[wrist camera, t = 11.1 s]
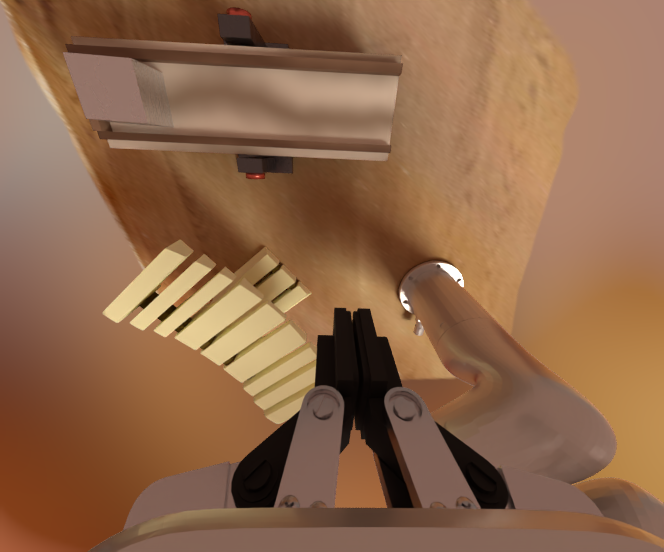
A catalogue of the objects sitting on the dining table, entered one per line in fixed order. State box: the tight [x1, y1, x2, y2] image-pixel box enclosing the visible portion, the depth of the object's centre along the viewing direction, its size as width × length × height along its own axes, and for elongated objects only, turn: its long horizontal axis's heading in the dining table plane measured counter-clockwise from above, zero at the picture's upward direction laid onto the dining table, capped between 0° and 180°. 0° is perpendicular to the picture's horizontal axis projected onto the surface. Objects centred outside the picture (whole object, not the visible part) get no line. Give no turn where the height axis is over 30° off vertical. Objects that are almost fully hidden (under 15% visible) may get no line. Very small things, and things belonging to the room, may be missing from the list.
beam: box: [65, 36, 403, 161], centre depth 28 cm, size 10×34×6 cm, turn 88°
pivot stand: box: [218, 8, 293, 179], centre depth 30 cm, size 16×8×9 cm, turn 178°
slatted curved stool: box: [103, 239, 317, 424], centre depth 40 cm, size 30×16×18 cm, turn 39°
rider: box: [63, 52, 174, 128], centre depth 24 cm, size 5×6×4 cm
